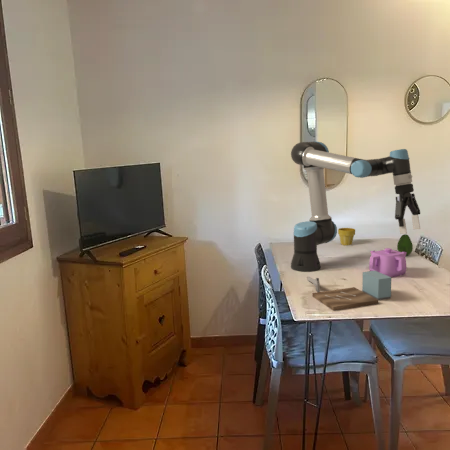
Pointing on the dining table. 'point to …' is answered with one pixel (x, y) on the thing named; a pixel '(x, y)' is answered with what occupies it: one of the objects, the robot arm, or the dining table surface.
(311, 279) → the caliper
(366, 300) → the board
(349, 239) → the plant pot
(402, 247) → the avocado
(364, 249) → the dining table surface
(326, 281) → the dining table surface
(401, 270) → the pink lidded pot
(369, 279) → the block
